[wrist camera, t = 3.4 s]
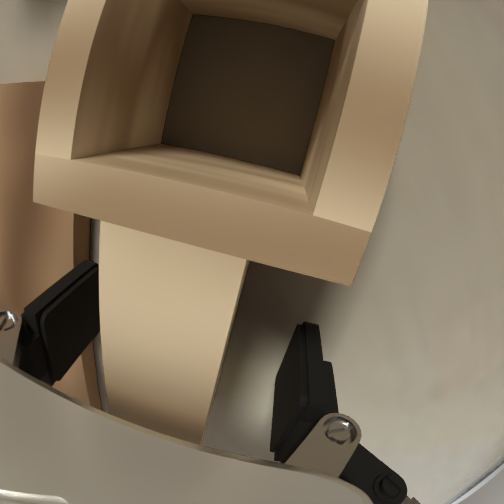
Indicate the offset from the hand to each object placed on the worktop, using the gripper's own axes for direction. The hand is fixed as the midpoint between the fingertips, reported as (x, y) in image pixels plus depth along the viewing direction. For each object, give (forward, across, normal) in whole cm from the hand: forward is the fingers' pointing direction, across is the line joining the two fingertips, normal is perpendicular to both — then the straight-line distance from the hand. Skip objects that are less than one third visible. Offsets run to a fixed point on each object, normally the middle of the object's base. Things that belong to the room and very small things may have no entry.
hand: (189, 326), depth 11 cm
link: (+1, 0, -3) cm, 4 cm away
